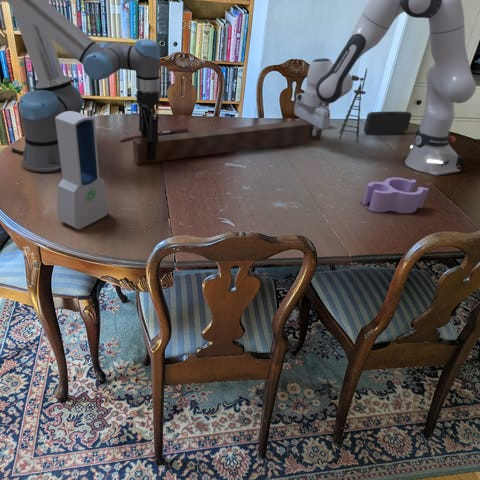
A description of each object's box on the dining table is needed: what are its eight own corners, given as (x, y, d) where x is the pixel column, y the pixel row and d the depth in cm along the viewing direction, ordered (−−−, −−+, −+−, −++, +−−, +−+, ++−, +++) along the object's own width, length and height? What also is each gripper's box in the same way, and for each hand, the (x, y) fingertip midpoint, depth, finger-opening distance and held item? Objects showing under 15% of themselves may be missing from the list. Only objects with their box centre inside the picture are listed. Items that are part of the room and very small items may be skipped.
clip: (376, 216, 149) (381, 197, 146) (356, 198, 159) (361, 179, 155) (427, 211, 156) (433, 192, 152) (405, 194, 165) (410, 176, 162)
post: (138, 164, 164) (137, 143, 160) (133, 158, 168) (132, 138, 164) (320, 139, 200) (323, 122, 195) (313, 135, 203) (316, 118, 199)
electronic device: (76, 231, 126) (63, 124, 110) (57, 222, 129) (42, 116, 113) (110, 214, 135) (103, 112, 119) (91, 206, 138) (82, 105, 122)
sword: (184, 128, 200) (184, 125, 199) (188, 130, 198) (188, 128, 197) (117, 141, 184) (116, 138, 183) (120, 143, 182) (120, 140, 181)
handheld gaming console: (403, 131, 225) (409, 110, 219) (406, 133, 222) (412, 112, 217) (362, 132, 217) (367, 111, 212) (365, 134, 215) (370, 113, 210)
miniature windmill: (357, 141, 207) (374, 71, 190) (338, 138, 208) (353, 69, 191) (357, 134, 214) (373, 67, 198) (339, 132, 215) (353, 64, 199)
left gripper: (168, 98, 150) (167, 164, 163) (149, 82, 163) (150, 145, 175) (146, 99, 147) (147, 167, 159) (128, 83, 160) (130, 147, 172)
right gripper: (336, 107, 184) (329, 140, 192) (306, 92, 199) (301, 124, 206) (323, 108, 181) (317, 142, 189) (294, 93, 196) (289, 125, 204)
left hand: (148, 155), depth 167 cm, fingers open, 5 cm apart
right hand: (308, 132), depth 198 cm, fingers closed on post, 5 cm apart
